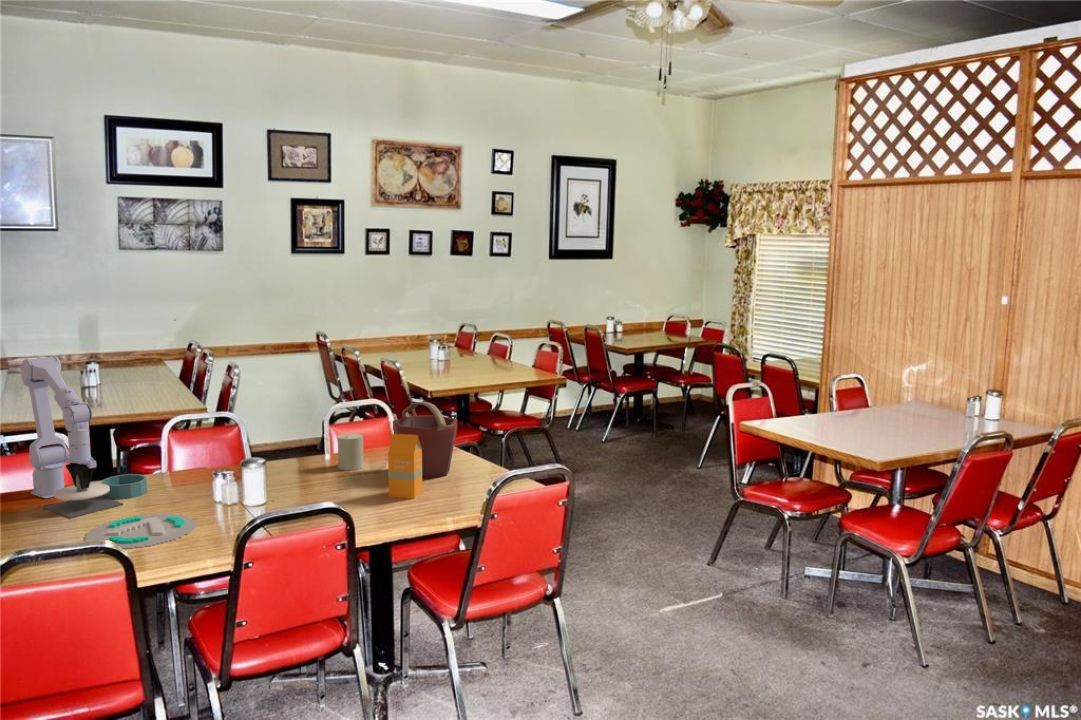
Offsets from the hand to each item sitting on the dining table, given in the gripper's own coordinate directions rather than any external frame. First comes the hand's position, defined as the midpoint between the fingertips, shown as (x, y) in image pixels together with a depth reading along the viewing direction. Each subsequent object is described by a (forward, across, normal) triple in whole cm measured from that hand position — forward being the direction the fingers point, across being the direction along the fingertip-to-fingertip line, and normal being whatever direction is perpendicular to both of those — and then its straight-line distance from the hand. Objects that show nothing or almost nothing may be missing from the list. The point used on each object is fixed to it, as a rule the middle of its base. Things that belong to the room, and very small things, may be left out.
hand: (82, 487), depth 261 cm
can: (+6, +32, +80) cm, 86 cm away
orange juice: (+6, +71, +67) cm, 98 cm away
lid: (+2, 0, 0) cm, 2 cm away
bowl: (+6, -3, +15) cm, 16 cm away
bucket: (+6, +59, +91) cm, 109 cm away
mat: (+6, 0, 0) cm, 6 cm away
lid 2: (+7, +35, -2) cm, 36 cm away
